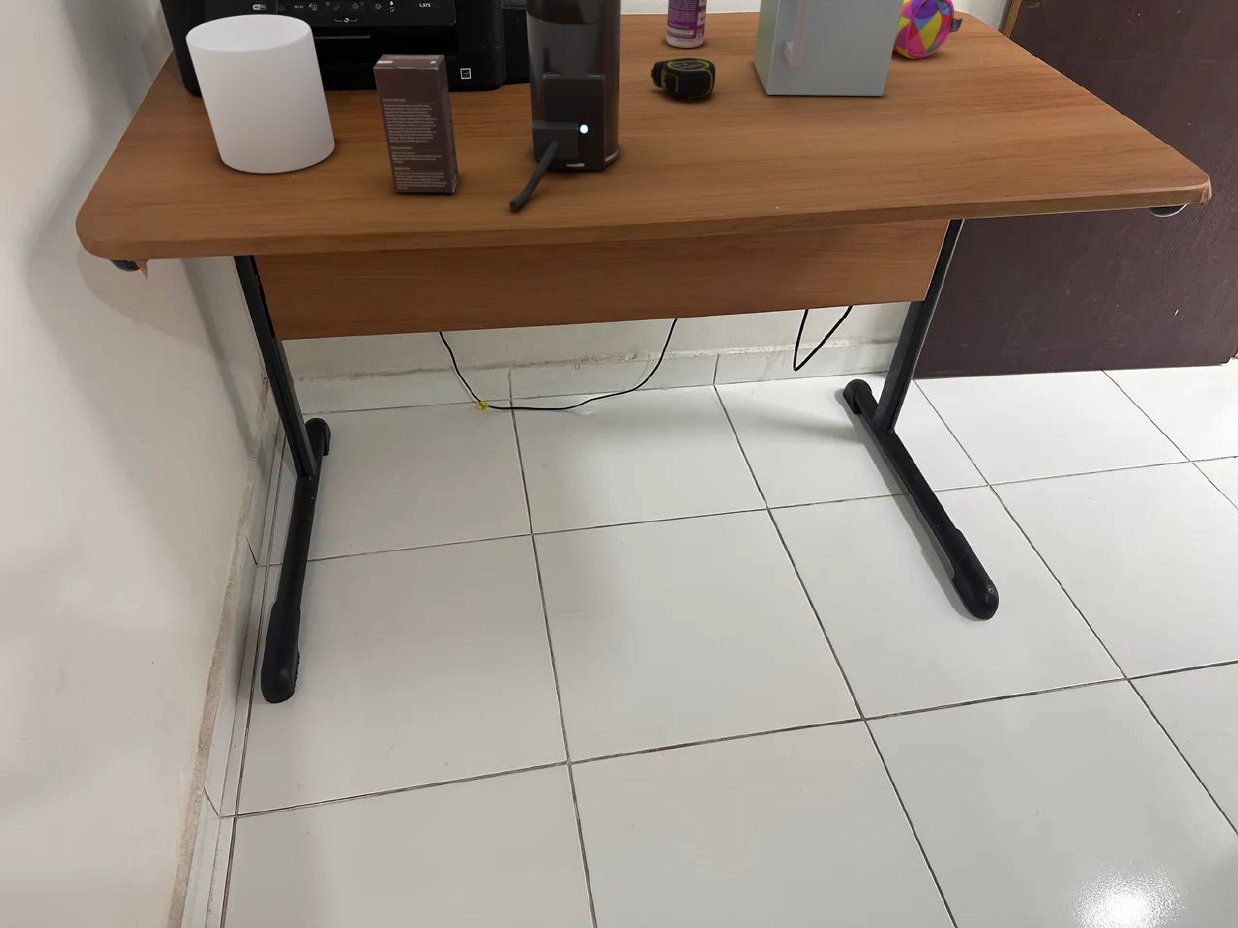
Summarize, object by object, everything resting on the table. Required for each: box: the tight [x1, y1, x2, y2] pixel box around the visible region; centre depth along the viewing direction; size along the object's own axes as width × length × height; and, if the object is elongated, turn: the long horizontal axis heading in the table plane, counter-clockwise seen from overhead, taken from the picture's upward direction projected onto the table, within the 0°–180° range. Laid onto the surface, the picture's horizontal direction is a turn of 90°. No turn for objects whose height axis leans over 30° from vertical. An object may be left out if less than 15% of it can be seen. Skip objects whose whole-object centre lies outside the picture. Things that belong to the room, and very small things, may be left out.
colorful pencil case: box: [893, 0, 964, 60], centre depth 123 cm, size 22×9×9 cm, turn 26°
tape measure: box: [650, 57, 716, 100], centre depth 107 cm, size 7×7×4 cm
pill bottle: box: [665, 0, 708, 49], centre depth 120 cm, size 5×5×10 cm
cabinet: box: [753, 0, 778, 92], centre depth 108 cm, size 11×15×17 cm
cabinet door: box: [765, 0, 903, 97], centre depth 101 cm, size 6×15×16 cm, turn 91°
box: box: [373, 54, 460, 194], centre depth 84 cm, size 6×4×12 cm
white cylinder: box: [185, 14, 335, 174], centre depth 89 cm, size 12×12×12 cm
